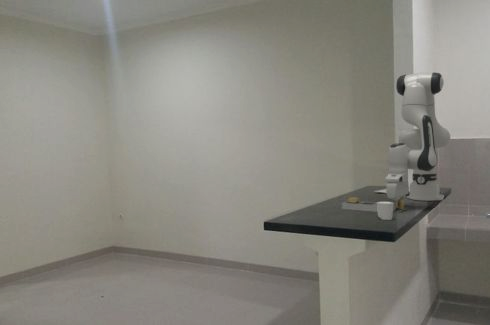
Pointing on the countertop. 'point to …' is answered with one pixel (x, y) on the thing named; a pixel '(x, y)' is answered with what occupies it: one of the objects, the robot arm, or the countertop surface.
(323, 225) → the countertop surface
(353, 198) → the nut seated
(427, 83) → the robot arm
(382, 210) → the white cup
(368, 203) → the rail
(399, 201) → the tan yellow block
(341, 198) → the countertop surface
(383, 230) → the countertop surface
